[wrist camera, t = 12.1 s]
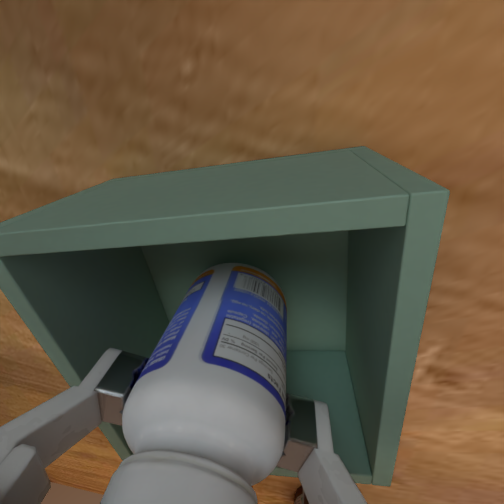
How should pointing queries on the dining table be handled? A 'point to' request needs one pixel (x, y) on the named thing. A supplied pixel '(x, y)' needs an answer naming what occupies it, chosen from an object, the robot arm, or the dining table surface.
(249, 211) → the tub
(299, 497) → the food container
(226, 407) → the pill bottle
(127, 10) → the dining table surface
